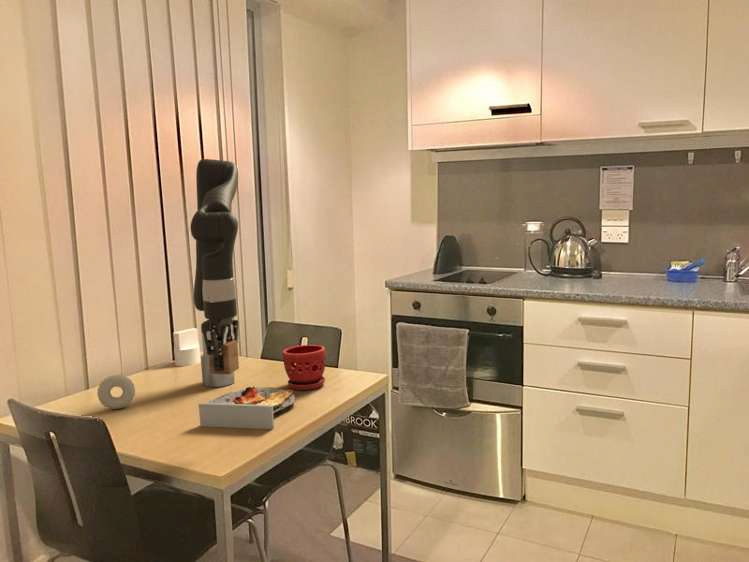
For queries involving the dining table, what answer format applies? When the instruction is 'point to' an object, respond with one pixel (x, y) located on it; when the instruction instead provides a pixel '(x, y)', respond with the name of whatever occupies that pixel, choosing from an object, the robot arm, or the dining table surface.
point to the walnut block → (227, 358)
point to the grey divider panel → (236, 415)
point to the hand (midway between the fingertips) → (224, 367)
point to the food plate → (259, 397)
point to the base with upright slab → (186, 347)
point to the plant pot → (305, 366)
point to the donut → (116, 401)
